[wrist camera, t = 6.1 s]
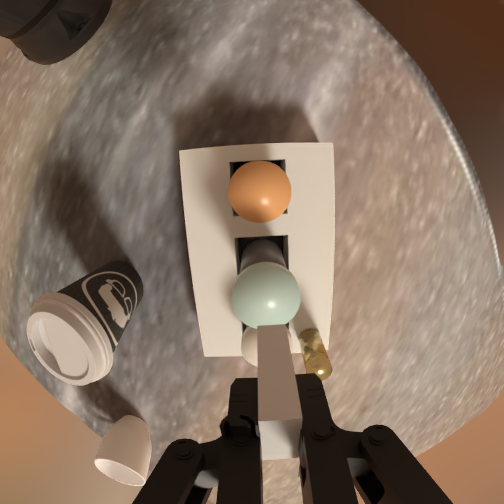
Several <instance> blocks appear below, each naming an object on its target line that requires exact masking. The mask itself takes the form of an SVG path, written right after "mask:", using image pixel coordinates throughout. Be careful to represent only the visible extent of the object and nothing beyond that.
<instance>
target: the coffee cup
mask: <svg viewBox="0 0 504 504" xmlns="http://www.w3.org/2000/svg"><path fill="white" fill-rule="evenodd" d="M142 296H143V284H142V281H141V278H140V276H139V275H138V273H137V272H136V271H135V270H134V269H133V268H132V267H131V266H129V265H128V264H126V263H123V262H118V261H115V262H110V263H108V264H106V265H104V266H102V267H101V268H99V269H97V270H95V271H93V272H92V273H90V274H88V275H86V276H84V277H83V278H81V279H79V280H77V281H75V282H74V283H72V284H70V285H68V286H67V287H65V288H63V289H61V290H60V291H58V292H49V293H45V294H43V295H41V296H40V297H39V298H38V299H37V300H36V302H35V303H34V305H33V307H32V309H31V312H30V316H29V319H28V322H27V336H28V340H29V343H30V346H31V348H32V350H33V352H34V354H35V355H36V357H37V358H38V360H39V361H40V362H41V364H42V365H43V366H44V367H45V368H46V369H47V370H48V371H49V372H50V373H52V374H53V375H54V376H56V377H57V378H59V379H60V380H62V381H64V382H66V383H69V384H72V385H78V386H82V385H87V384H89V383H90V382H95V381H97V380H99V379H101V378H102V377H104V376H105V375H106V374H107V373H108V372H109V371H110V369H111V367H112V364H113V352H114V350H115V348H116V346H117V344H118V342H119V340H120V338H121V336H122V334H123V332H124V330H125V328H126V326H127V324H128V323H129V321H130V319H131V317H132V315H133V313H134V311H135V310H136V308H137V306H138V304H139V302H140V300H141V298H142Z"/></svg>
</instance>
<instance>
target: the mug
mask: <svg viewBox="0 0 504 504" xmlns="http://www.w3.org/2000/svg"><path fill="white" fill-rule="evenodd" d="M150 458H151V441H150V435H149V430H148V426H147V424H146V423H145V422H144V421H143V420H142V419H140V418H138V417H136V416H133V415H125V416H123V417H122V418H121V419H120V420H118V421H117V422H116V423H114V424H113V425H112V426H111V427H110V428H109V429H108V430H107V431H106V433H105V435H104V437H103V440H102V442H101V445H100V447H99V450H98V453H97V455H96V458H95V461H94V463H95V466H96V467H97V468H98V469H99V470H100V471H101V472H102V473H104V474H105V475H107V476H108V477H110V478H112V479H114V480H116V481H118V482H121V483H124V484H128V485H132V486H142V485H144V484H145V482H146V477H147V472H148V468H149V463H150Z"/></svg>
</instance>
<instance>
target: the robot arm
mask: <svg viewBox="0 0 504 504" xmlns="http://www.w3.org/2000/svg"><path fill="white" fill-rule="evenodd" d="M111 2H112V0H0V36H2V37H5V38H8V39H10V40H11V41H12V42H13V43H14V44H15V45H16V46H17V47H18V48H19V49H21V51H22V53H23V55H24V56H25V57H26V58H27V59H29V60H30V61H33V62H36V63H39V64H43V65H49V64H53V63H57V62H59V61H61V60H63V59H65V58H67V57H69V56H70V55H72V54H73V53H74V52H76V51H77V50H78V49H79V48H81V47H82V46H83V45H84V44H85V43H86V42H87V41H88V40H89V39H90V38H91V37H92V36H93V35H94V33H95V32H96V31H97V30H98V28H99V27H100V25H101V24H102V23H103V21H104V19H105V17H106V16H107V14H108V11H109V9H110V6H111ZM257 359H258V378H236V379H235V381H234V382H233V383H232V385H231V388H230V398H229V408H228V416H226V417H225V418H224V419H223V420H222V421H221V424H220V429H221V434H222V436H221V437H220V438H218V439H216V440H214V441H210V442H206V443H201V444H199V443H198V442H196V441H194V440H192V439H179V440H176V441H174V442H172V443H171V444H170V445H169V446H168V447H167V449H166V450H165V452H164V454H163V455H162V457H161V459H160V460H159V462H158V463H157V465H156V467H155V468H154V470H153V471H152V473H151V475H150V476H149V478H148V480H147V481H146V483H145V484H144V486H143V488H142V489H141V491H140V492H139V494H138V495H137V497H136V498H135V500H134V501H133V503H132V504H206V502H207V500H208V498H209V495H210V493H211V491H212V489H213V487H216V486H218V491H217V502H216V504H263V477H262V460H271V459H286V458H298V457H299V458H300V467H299V474H298V477H299V476H300V479H301V488H302V496H303V504H358V500H357V496H356V492H355V488H354V486H355V487H356V489H357V491H358V492H359V494H360V496H361V497H362V499H363V500H364V502H365V504H453V503H452V502H451V500H450V499H449V498H448V497H447V496H446V494H445V493H444V492H443V491H442V490H441V488H440V487H439V486H438V485H437V484H436V482H435V481H434V480H433V479H432V478H431V476H430V475H429V474H428V473H427V472H426V470H425V469H424V468H423V467H422V465H421V464H420V463H419V462H418V461H417V459H416V458H415V457H414V456H413V455H412V453H411V452H410V451H409V450H408V449H407V447H406V446H405V445H404V444H403V442H402V441H401V440H400V439H399V438H398V436H397V435H396V434H395V433H394V432H393V430H391V429H390V428H389V427H387V426H384V425H372V426H369V427H368V428H366V429H364V431H363V432H352V431H346V430H343V429H340V428H339V427H338V426H336V425H335V423H334V422H333V420H332V417H331V413H330V410H329V406H328V402H327V399H326V396H325V392H324V389H323V384H322V381H321V379H320V378H319V377H318V376H317V375H316V374H315V373H308V374H297V375H295V372H294V366H293V361H292V355H291V350H290V345H289V339H288V334H287V329H286V324H279V325H261V326H257Z"/></svg>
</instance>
